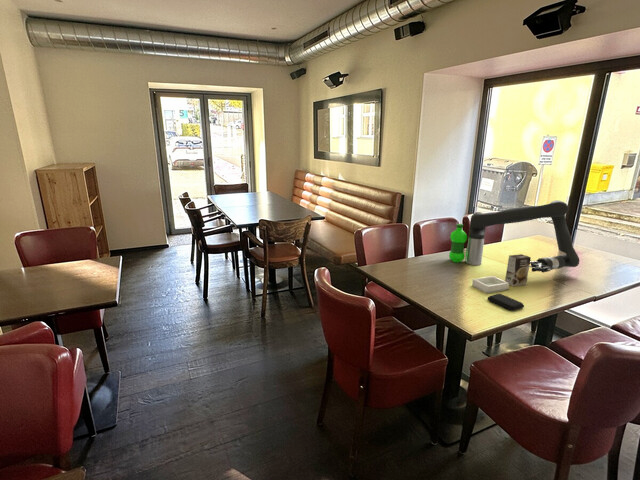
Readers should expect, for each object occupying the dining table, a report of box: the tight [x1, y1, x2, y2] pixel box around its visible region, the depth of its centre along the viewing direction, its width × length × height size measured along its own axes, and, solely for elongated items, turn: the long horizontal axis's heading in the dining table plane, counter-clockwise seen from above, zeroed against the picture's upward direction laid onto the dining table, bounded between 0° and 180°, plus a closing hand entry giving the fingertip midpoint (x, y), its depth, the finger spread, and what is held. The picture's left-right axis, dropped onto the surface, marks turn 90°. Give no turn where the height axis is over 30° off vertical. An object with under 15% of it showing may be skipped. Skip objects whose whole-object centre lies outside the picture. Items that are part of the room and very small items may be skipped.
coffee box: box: [504, 253, 531, 287], centre depth 193 cm, size 9×6×16 cm
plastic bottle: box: [448, 223, 468, 263], centre depth 230 cm, size 10×10×25 cm
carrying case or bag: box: [487, 293, 525, 312], centre depth 170 cm, size 11×3×15 cm
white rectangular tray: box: [471, 275, 510, 294], centre depth 189 cm, size 11×14×4 cm
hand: (525, 267), depth 195 cm, fingers open, 8 cm apart
